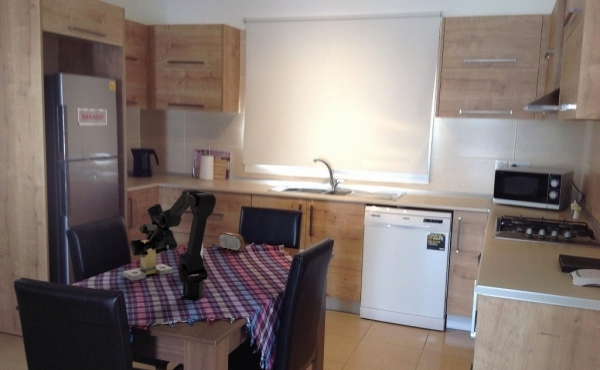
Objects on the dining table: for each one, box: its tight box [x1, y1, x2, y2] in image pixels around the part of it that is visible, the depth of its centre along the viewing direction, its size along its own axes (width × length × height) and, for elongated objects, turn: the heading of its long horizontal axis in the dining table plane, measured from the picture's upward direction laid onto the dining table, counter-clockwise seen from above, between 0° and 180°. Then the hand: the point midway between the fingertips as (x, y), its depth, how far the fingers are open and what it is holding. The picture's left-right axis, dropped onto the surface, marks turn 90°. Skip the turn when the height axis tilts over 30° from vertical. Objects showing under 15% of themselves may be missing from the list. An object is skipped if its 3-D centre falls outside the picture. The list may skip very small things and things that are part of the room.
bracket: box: [122, 263, 174, 282], centre depth 216 cm, size 8×18×2 cm, turn 134°
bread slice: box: [218, 231, 246, 252], centre depth 261 cm, size 15×3×8 cm, turn 58°
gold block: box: [139, 239, 157, 276], centre depth 215 cm, size 5×5×13 cm
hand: (146, 256), depth 216 cm, fingers closed on gold block, 4 cm apart
